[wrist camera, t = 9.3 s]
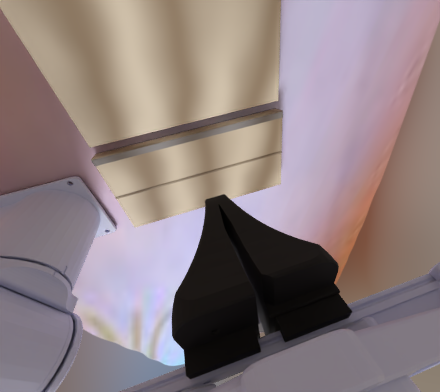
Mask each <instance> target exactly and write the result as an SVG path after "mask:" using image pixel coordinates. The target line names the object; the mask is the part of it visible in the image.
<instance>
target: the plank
mask: <svg viewBox="0 0 440 392" xmlns="http://www.w3.org/2000/svg"><path fill="white" fill-rule="evenodd" d="M0 9H1V10H2V12H3V13H4V15H5V16H6V18H7V19H8V21H9V23H10V24H11V26H12V27H13V29H14V30H15V32H16V33H17V35H18V37H19V38H20V40H21V41H22V43H23V44H24V46H25V47H26V49H27V51H28V52H29V54H30V55H31V57H32V58H33V60H34V61H35V63H36V65H37V66H38V68H39V69H40V71H41V72H42V74H43V75H44V77H45V79H46V80H47V82H48V83H49V85H50V86H51V88H52V89H53V91H54V93H55V94H56V96H57V97H58V99H59V100H60V102H61V103H62V105H63V107H64V108H65V110H66V111H67V113H68V114H69V116H70V118H71V119H72V121H73V122H74V124H75V125H76V127H77V128H78V130H79V132H80V133H81V135H82V136H83V138H84V139H85V141H86V142H87V144H88V146H89V147H90V148H91V147H95V146H99V145H103V144H107V143H111V142H115V141H119V140H123V139H127V138H131V137H135V136H139V135H143V134H147V133H151V132H155V131H159V130H163V129H167V128H171V127H175V126H179V125H183V124H187V123H191V122H195V121H199V120H203V119H207V118H211V117H215V116H219V115H223V114H227V113H231V112H235V111H239V110H243V109H247V108H251V107H255V106H259V105H263V104H267V103H271V102H275V101H278V87H279V50H280V12H281V0H0Z"/></svg>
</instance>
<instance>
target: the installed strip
mask: <svg viewBox="0 0 440 392" xmlns="http://www.w3.org/2000/svg"><path fill="white" fill-rule="evenodd" d="M282 118H283V111H282V110H279V109H276V108H275V109H271V110H267V111H263V112H259V113H255V114H251V115H247V116H243V117H239V118H235V119H231V120H228V121H224V122H220V123H216V124H212V125H208V126H204V127H200V128H196V129H192V130H188V131H184V132H180V133H176V134H172V135H169V136H165V137H161V138H157V139H153V140H149V141H145V142H141V143H137V144H133V145H129V146H125V147H121V148H117V149H113V150H110V151H106V152H102V153H98V154H96V155H95V156H94V157H93V158H92V159H91V161H92V162H93V164H94V166H96V168H97V169H98V171H99V173H100V174H101V176H102V177H103V179H104V180H105V182H106V183H107V185H108V187H109V188H110V190H111V191H112V193H113V194H114V196H115V197H116V199H117V201H118V202H119V204H120V205H121V207H122V208H123V210H124V211H125V213H126V214H127V216H128V218H129V219H130V221H131V222H132V224H133V225H134V227H138V226H142V225H145V224H149V223H152V222H155V221H159V220H162V219H165V218H169V217H172V216H175V215H179V214H182V213H185V212H189V211H192V210H195V209H199V208H202V207H205V200H206V199H209V198H212V197H216V196H219V195H222V194H225V195H226V196H227V197H228V198H229V199H232V198H236V197H239V196H242V195H246V194H249V193H252V192H256V191H259V190H263V189H266V188H269V187H273V186H276V185H279V184H281V153H282V151H281V146H282Z"/></svg>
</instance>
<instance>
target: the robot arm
mask: <svg viewBox="0 0 440 392" xmlns="http://www.w3.org/2000/svg"><path fill="white" fill-rule="evenodd" d="M69 181H71V182H72V183H73V184H70V183H69ZM107 229H108V230H107ZM116 229H117V228H116V226H115V224H114V223H113V222H112V220H111V219H110V218H109V216H108V215H107V213H106V212H105V211H104V209H103V208H102V207H101V205H100V204H99V202H98V201H97V200H96V198H95V197H94V196H93V194H92V193H91V191H90V190H89V189H88V187H87V186H86V185H85V183H84V182H83V181H82V179H81V178H80V177H77V176H73V177H69V178H65V179H62V180H58V181H54V182H50V183H46V184H43V185H39V186H35V187H31V188H27V189H24V190H20V191H16V192H12V193H8V194H4V195H1V196H0V392H55V391H56V390H57V388H58V387H59V386H60V384H61V383H62V381H63V379H64V378H65V377H66V375H67V373H68V371H69V370H70V368H71V366H72V364H73V362H74V360H75V357H76V355H77V352H78V349H79V346H80V343H81V338H82V332H83V325H82V321H81V319H80V317H79V316H78V315H77V314H74V313H73V310H74V308H75V305H76V303H77V300H78V298H77V297H75V296H74V295H73V294H72V290H73V288H74V285H75V283H76V281H77V278H78V276H79V274H80V271H81V269H82V266H83V264H84V262H85V259H86V257H87V255H88V252H89V250H90V247H91V245H92V243H93V240H94V238H96V237H100V236H103V235H106V234H110V233H113V232H115V231H116ZM338 267H339V266H338V263H337V262H336V261H335V260H334V259H333V258H332V256H331V255H330V254H329V253H328V252H327V251H325V250H324V249H323V248H322V247H321V246H320V245H318V244H315V243H311V242H308V241H304V240H301V239H298V238H295V237H292V236H289V235H287V234H284V233H282V232H280V231H277V230H275V229H273V228H271V227H269V226H267V225H265V224H263V223H262V222H260V221H258V220H257V219H255V218H253V217H252V216H250V215H249V214H248V213H246V212H245V211H243V210H242V209H241V208H240V207H238V206H237V205H236V204H235V203H234V202H233V201H231V200H230V199H229V198H228V197H227V196H226V195H225V194H222V195H219V196H216V197H212V198H209V199H206V200H205V219H204V226H203V231H202V235H201V239H200V242H199V245H198V248H197V251H196V254H195V256H194V259H193V261H192V263H191V265H190V268H189V270H188V272H187V274H186V276H185V278H184V280H183V281H182V283H181V285H180V287H179V288H178V290H177V292H176V294H175V298H174V303H173V311H172V336H173V338H174V340H175V341H176V342H177V343H178V344H179V345H180V346H181V347H182V348H183V349H184V356H185V367H183V368H180V369H177V370H175V371H172V372H169V373H167V374H164V375H161V376H159V377H156V378H154V379H151V380H148V381H146V382H143V383H140V384H138V385H135V386H133V387H130V388H127V389H125V390H122V391H120V392H421V391H420V390H419V389H418V387H417V386H416V385H415V383H414V382H413V381H412V380H411V378H410V377H411V376H414V375H416V374H418V373H421V372H423V371H425V370H427V369H429V368H432V367H434V366H436V365H438V364H440V262H439V263H438V264H436V265H435V266H434V267H433V268H432V269H431V270H430V271H429V274H426V275H423V276H421V277H418V278H415V279H413V280H410V281H407V282H405V283H402V284H400V285H397V286H394V287H392V288H389V289H387V290H384V291H381V292H379V293H376V294H373V295H371V296H368V297H366V298H363V299H360V300H358V301H355V302H352V303H350V304H346V303H345V301H344V300H343V299H342V298H341V296H340V295H339V293H340V291H339V289H338V288H337V286H336V285H335V284H334V281H335V278H336V276H337V273H338ZM258 315H259V318H260V321H261V324H262V327H263V330H264V333H265V336H264V337H261V338H260V333H259V326H258V323H259V319H258ZM243 371H244V372H243ZM240 372H243V374H241V375H239V376H237V377H235V378H233V379H231V380H229V381H227V382H225V383H223V384H221V385H219V386H217V387H216V385H215V384H212V383H214V382H217V381H220V380H222V379H225V378H227V377H230V376H233V375H235V374H238V373H240Z"/></svg>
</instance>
